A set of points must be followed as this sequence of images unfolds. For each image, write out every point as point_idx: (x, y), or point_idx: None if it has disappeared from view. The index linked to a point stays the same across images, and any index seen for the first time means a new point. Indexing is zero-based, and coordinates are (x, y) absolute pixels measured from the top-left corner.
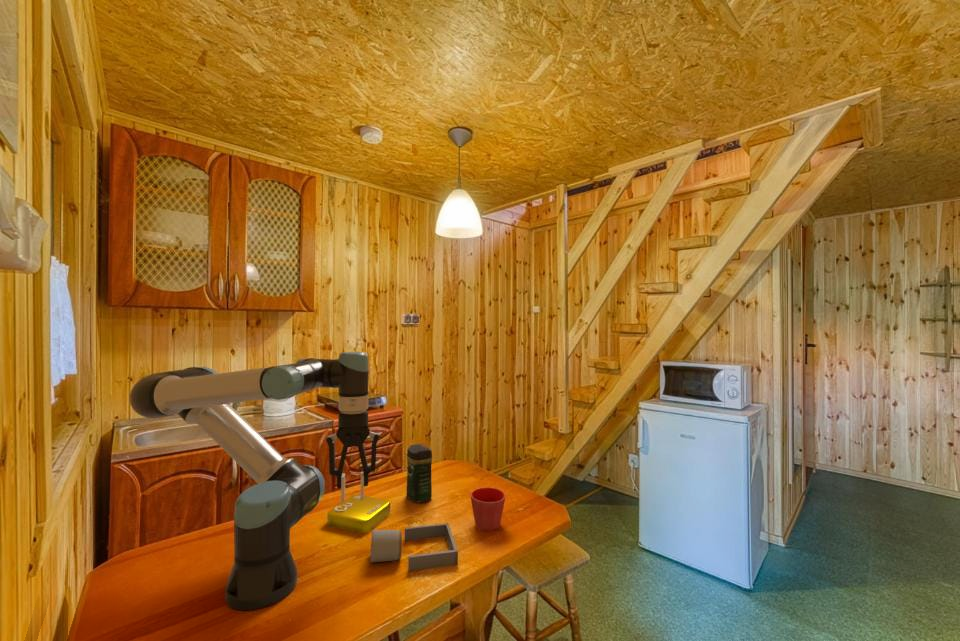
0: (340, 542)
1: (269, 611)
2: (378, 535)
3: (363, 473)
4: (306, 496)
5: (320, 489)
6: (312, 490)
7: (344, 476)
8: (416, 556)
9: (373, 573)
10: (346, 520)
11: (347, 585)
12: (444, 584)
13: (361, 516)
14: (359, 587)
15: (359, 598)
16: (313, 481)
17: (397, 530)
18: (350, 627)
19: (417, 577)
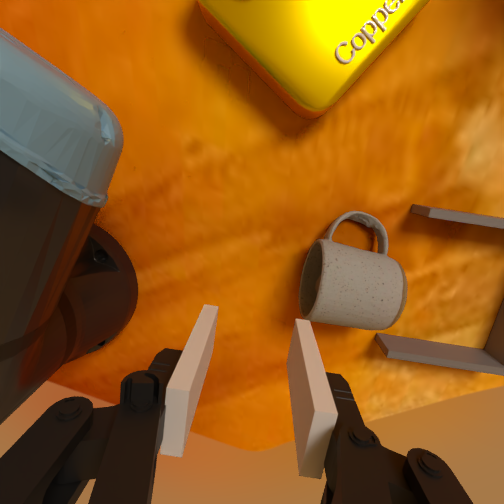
0: (236, 148)
1: (100, 355)
2: (332, 312)
3: (326, 443)
4: (18, 312)
5: (84, 198)
6: (34, 259)
7: (182, 447)
8: (406, 359)
9: (299, 318)
10: (258, 65)
11: (241, 336)
12: (428, 403)
13: (311, 74)
14: (264, 351)
15: (260, 381)
16: (1, 218)
17: (396, 296)
18: (237, 438)
19: (385, 364)
